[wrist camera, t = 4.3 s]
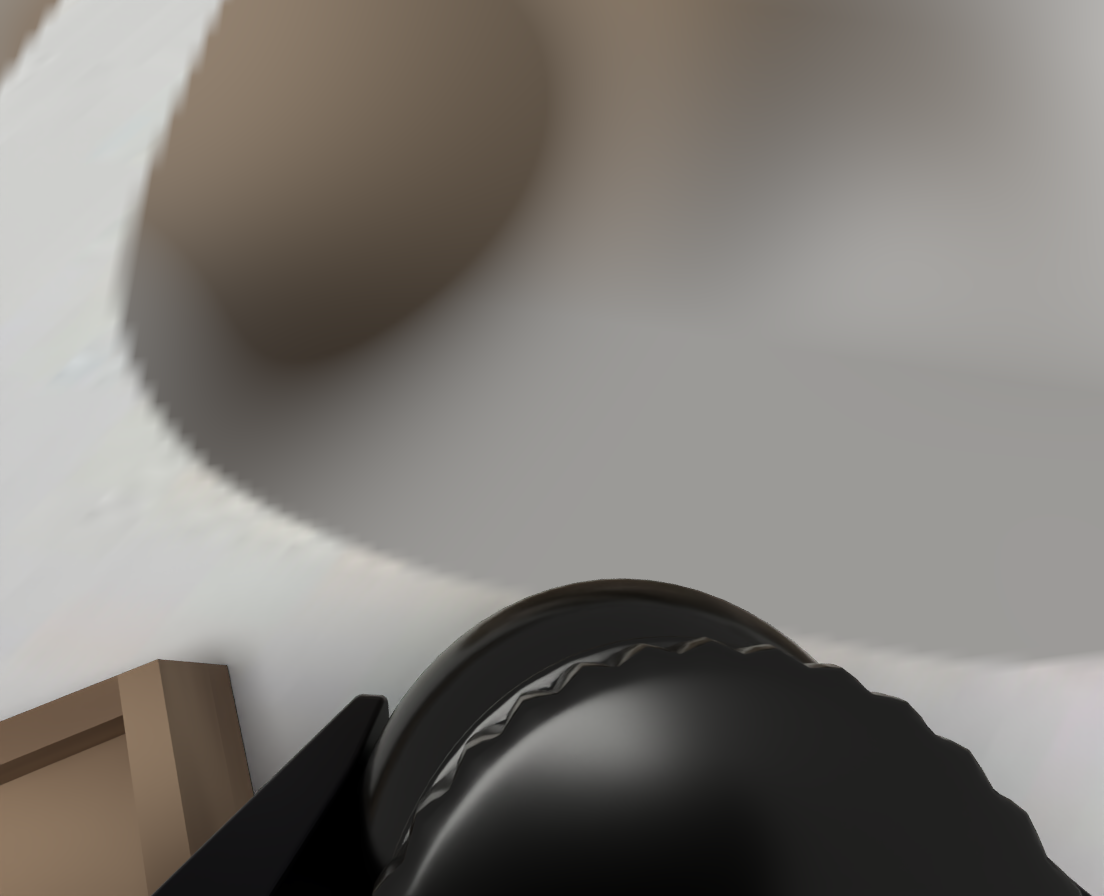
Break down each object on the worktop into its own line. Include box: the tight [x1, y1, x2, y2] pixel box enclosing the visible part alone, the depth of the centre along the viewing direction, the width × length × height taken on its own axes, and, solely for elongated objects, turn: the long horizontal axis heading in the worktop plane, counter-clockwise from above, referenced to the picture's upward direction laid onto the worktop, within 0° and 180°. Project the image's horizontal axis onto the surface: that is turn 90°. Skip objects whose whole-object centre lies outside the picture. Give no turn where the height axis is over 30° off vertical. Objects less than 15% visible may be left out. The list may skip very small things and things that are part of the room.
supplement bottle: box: [332, 579, 1082, 896], centre depth 9 cm, size 7×7×12 cm
